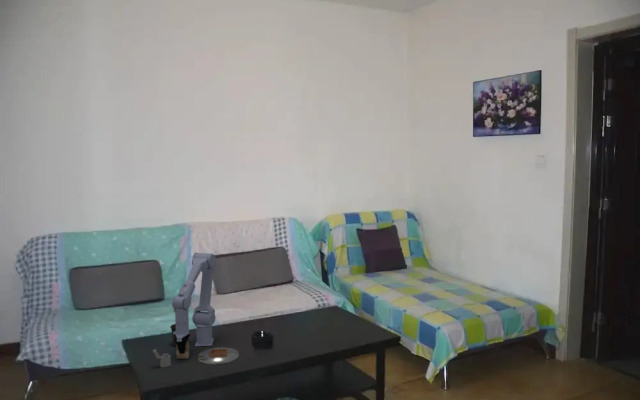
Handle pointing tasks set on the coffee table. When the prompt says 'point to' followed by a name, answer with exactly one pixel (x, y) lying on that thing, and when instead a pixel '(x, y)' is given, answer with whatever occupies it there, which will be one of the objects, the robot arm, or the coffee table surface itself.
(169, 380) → the coffee table surface
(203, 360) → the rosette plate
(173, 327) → the coffee cup
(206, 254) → the robot arm
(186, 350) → the wood grain block
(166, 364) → the lighter
